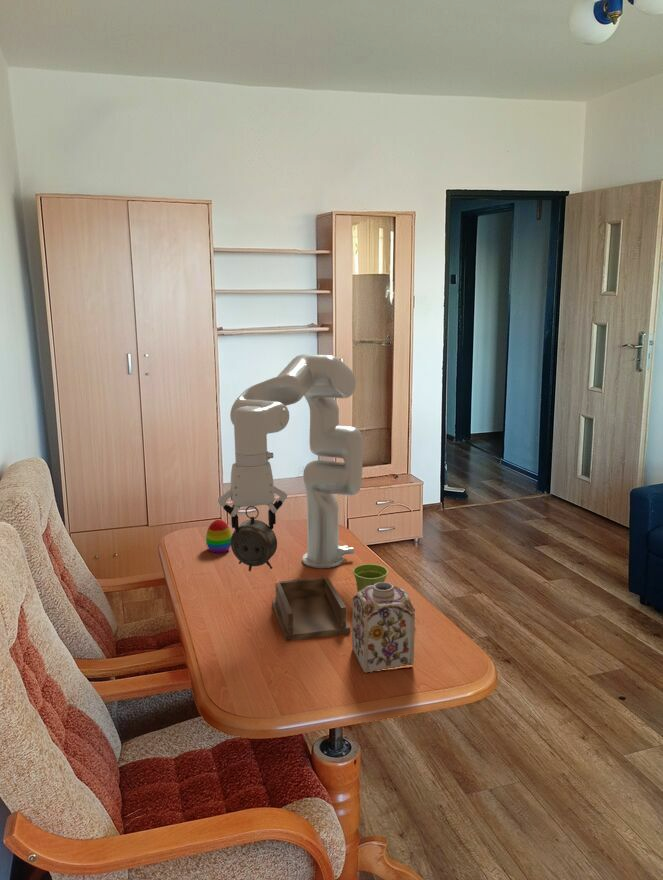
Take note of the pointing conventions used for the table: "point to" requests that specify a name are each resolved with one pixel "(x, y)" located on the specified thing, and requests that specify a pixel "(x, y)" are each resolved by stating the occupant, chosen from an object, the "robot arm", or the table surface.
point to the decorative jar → (383, 627)
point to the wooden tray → (309, 609)
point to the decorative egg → (218, 536)
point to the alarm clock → (254, 542)
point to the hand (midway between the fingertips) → (253, 528)
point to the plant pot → (369, 575)
